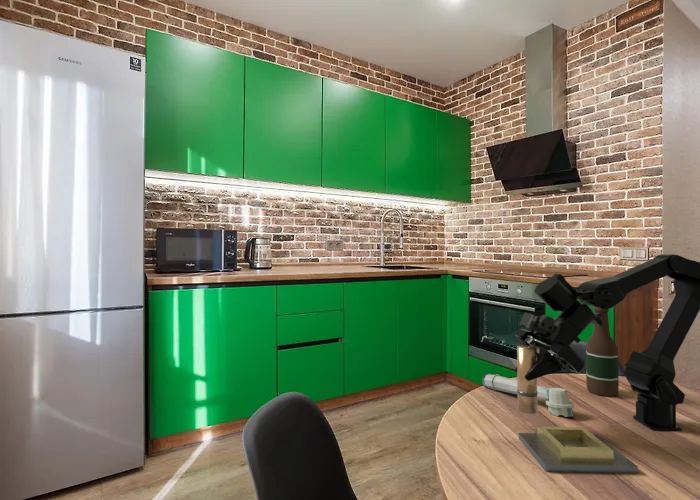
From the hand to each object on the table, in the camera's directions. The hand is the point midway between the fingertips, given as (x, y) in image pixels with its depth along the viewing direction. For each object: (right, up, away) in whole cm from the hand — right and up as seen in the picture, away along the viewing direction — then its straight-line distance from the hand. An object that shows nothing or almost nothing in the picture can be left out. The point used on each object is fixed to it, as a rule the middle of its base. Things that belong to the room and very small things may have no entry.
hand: (521, 376), depth 85 cm
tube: (+1, -8, 0) cm, 8 cm away
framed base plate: (+5, -11, -11) cm, 17 cm away
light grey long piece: (+8, -12, +16) cm, 22 cm away
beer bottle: (+33, -12, +22) cm, 41 cm away
